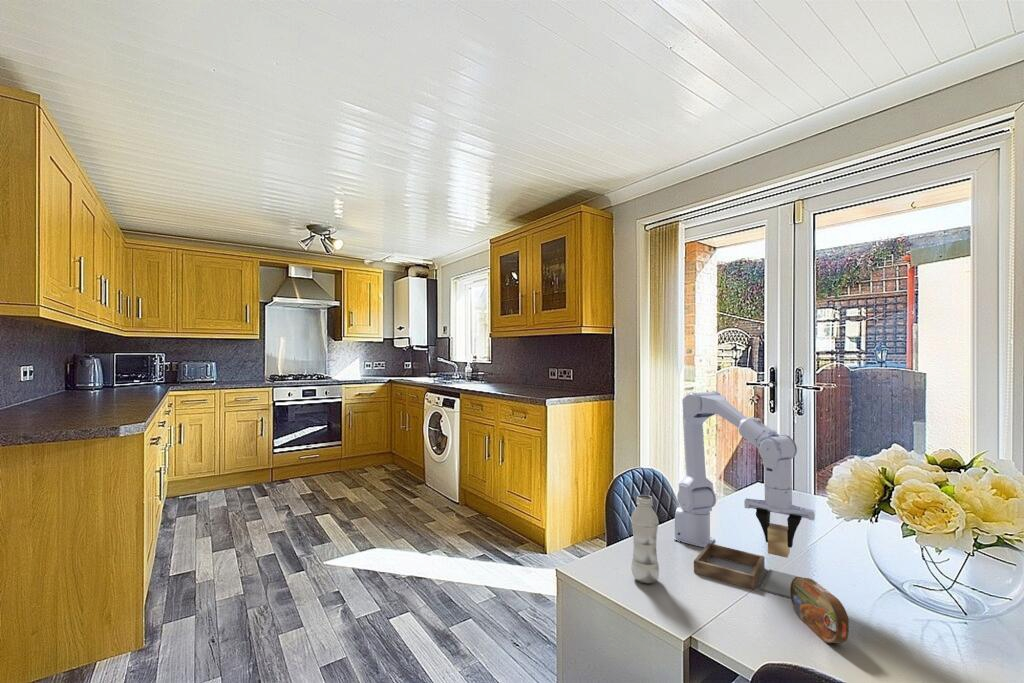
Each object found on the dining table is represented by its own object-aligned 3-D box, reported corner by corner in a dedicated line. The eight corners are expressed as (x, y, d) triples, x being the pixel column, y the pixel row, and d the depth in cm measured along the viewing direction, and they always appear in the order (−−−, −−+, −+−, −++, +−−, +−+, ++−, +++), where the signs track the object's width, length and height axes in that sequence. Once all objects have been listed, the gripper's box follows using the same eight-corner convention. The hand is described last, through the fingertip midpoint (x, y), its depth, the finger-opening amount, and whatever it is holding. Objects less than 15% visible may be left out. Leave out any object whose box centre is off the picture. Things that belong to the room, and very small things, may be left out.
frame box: (693, 572, 116) (693, 560, 116) (708, 554, 127) (708, 543, 127) (754, 589, 108) (753, 576, 108) (764, 568, 118) (764, 556, 118)
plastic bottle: (645, 589, 108) (644, 503, 108) (625, 577, 114) (625, 495, 114) (665, 583, 111) (664, 499, 111) (645, 571, 117) (644, 491, 117)
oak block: (767, 553, 110) (767, 527, 110) (770, 547, 113) (770, 523, 113) (787, 557, 107) (786, 531, 108) (789, 552, 111) (789, 526, 111)
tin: (789, 608, 100) (788, 569, 100) (803, 608, 100) (803, 569, 100) (835, 653, 85) (834, 607, 85) (853, 654, 85) (852, 607, 85)
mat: (760, 589, 108) (760, 588, 108) (769, 570, 117) (769, 569, 117) (800, 601, 103) (800, 599, 103) (806, 580, 112) (806, 578, 112)
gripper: (741, 484, 112) (742, 541, 112) (812, 496, 103) (813, 557, 103) (747, 478, 118) (748, 532, 117) (815, 488, 109) (816, 547, 109)
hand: (779, 543), depth 111 cm, fingers closed on oak block, 4 cm apart
